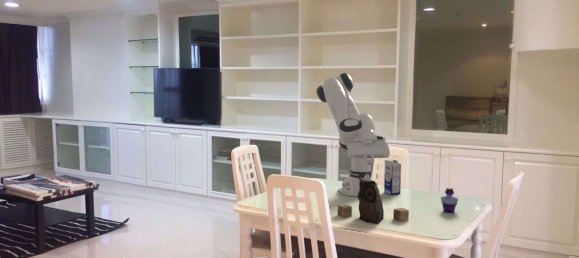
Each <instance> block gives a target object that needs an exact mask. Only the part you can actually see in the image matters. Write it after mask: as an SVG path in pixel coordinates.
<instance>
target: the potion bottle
mask: <svg viewBox="0 0 579 258" xmlns="http://www.w3.org/2000/svg"><path fill="white" fill-rule="evenodd" d="M444 194H445V196H441V197H440V200H441V204H442V211H443V212H444V213H446V214H447V213H448V214H453V213H455V211H456V210H455V209H456V206H457V205H458V201H459V198H458V197H455V196H453V195H455V191H454V188H453V187H446V188H445V190H444Z"/></svg>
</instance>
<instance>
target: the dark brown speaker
mask: <svg viewBox="0 0 579 258" xmlns="http://www.w3.org/2000/svg"><path fill="white" fill-rule="evenodd" d="M359 180H360V182H359V186H360V188H359V192H358V196H357V198H358V202H359V203H358V212H359V220H360V221H362V222H365V223H368V224H375V225H378V224H380V223H381V222H382V221H383V220H384V216H385V213H384V212H385V210H384V206H383V201H382V197H381V194H380V190H379V189H380V188H379V187H378V184H377V183H376V181H375V180H373V179H372V180H370V179H364V178H361V177H360V178H359Z"/></svg>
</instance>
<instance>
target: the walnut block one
mask: <svg viewBox="0 0 579 258" xmlns="http://www.w3.org/2000/svg"><path fill="white" fill-rule="evenodd" d="M352 210H353V206H352V205H349V204H345V203H344V204H340V205H337V216H338V217H341V218H343V219H345V218H350V217H351V218H352V217H353V211H352Z"/></svg>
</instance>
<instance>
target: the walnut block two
mask: <svg viewBox="0 0 579 258" xmlns="http://www.w3.org/2000/svg"><path fill="white" fill-rule="evenodd" d="M409 217H410V209H406V208H404V207H398V208H393V218H392V219H393V220H395V221H398V222H406V221H409V219H410V218H409Z"/></svg>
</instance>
